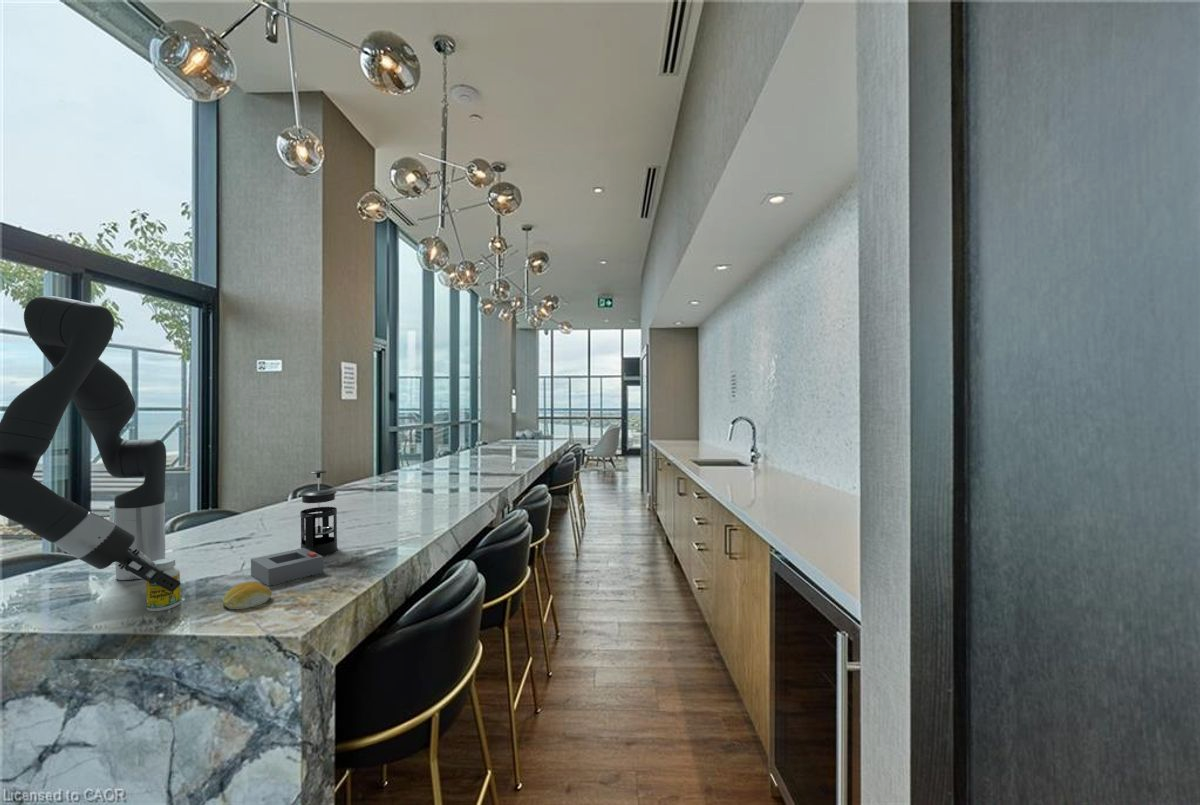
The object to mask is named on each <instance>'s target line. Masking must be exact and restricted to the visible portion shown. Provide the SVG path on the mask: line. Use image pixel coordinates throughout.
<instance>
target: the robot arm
mask: <svg viewBox="0 0 1200 805" xmlns="http://www.w3.org/2000/svg"><path fill="white" fill-rule="evenodd" d="M23 321H24V325H25V329H26V331H27V333H28V334H29V337H30V338H31V339H32V341H33V342H34V344H35V345H36V346H37V348H38V349H39V350H40V351H41V353H42V354H43V355H44V356H45V358H46V359H47V361H48V362H49V363H50V364H51V365H52V367H53V369H52V370H50V371H49V372H48V373H46V375H44V376H43V377H41V378H40V379H38V380H37V381H35V383H33V384H31V385H30V386H29V387H27V388H26V389H24V390H23V391H22V392H21V393H19V394H18V395H17V396H16V397H14V399H13V400H12V401H11V402H10V403H9V405H8V406H7V407H6V410H5V411H4V413H3V416H2V418H1V419H0V515H1V516H2V517H4V518H7V519H9V520H10V521H13V522H15V523H17V524H19V525H21V526H23V527H24V528H26V529H27V530H28V531H30V532H31V533H33V534H34V535H36V536H39V537H40V538H43V539H44V540H46V541H48V542H50V543H52V544H53V545H55V546H56V547H58V548H59V549H60V550H61V551H63V552H65V553H67V554H69V555H71V556H73V557H75V558H76V559H79V560H80V561H83V562H84V563H85V564H88V565H90V566H92V567H94V568H96V569H97V570H104V569H106V568H108V567H110V566H112V564H113V563H115V564H114V565H115V568H114V569H115V579H116V580H117V579H118V580H117V581H132V580H133V579H134V580H139V579H140V580H145V581H148V582H149V583H150V584H155V583H156V584H157V585H159V586H161V587H163V588H165V589H167V590H168V591H170V592H173V591H174V590H175V589H176V588H177V587H178V586H179V585H180V586H181V580H180V581H178V580H176V579H175V578H173V577H171V576H169V575H167V574H166V573H165V571H163V570H160V569H158V568H157V564H156V563H154V562H153V561H156V560H160V559H166V518H165V517H166V514H165V513H166V510H165V509H166V508H165V504H166V502H165V501H166V499H165V497H166V496H165V492H166V470H167V469H166V468H167V450H166V449H167V448H166V445H165V443H164V442H163V441H162V440H161V439H158V438H154V439H153V438H151V439H148V438H147V439H124V438H122V437H121V435H120V433H122V431H123V429H124V428H125V427H126V426H127V424H128V423H129V422H130V421H131V419H132V417H133V416H134V413H135V412H136V406H137V405H136V401H135V399H134V397H133V394H132V391H131V390H130V388H129V385H128V383H127V382H126V380H125V379H124V378H123V377H122V376H121V375H120V374H119V373H117V372H116V371H115V370H114V369H113V368H111V367H110V366H109V365H108V364H106V363H105V362H104V361H103V360H101V359H100V358H101V356H102V355H103V353H104V351H105V350H106V348H107V347H108V346H109V343H110V341H111V339H112V337H113V334H114V332H115V319H114V316H113V314H112V313H111V311H110V310H109V309H108V308H107V307H105V306H102V305H100V304H96V303H92V302H91V303H90V302H86V301H82V300H81V301H80V300H77V299H71V298H66V297H60V296H53V295H41V296H36V297H34V298H32V299H31V300H29V301H28V303H27V304H26V306H25V307H24V311H23ZM71 400H72V402H73V403H74V406H75V407H76V409H77V411H78V414H80V416H81V418H82V419H83V421H84V423H85V425H86V426H87V428H88V430H89V431H90V434H91V435H92V437H93V439H94V442H95V444H96V447H97V450H98V452H99V455H100V458H101V460H102V463H103V465H104V468H105V470H106V471H107V473H108V474H109V475H110V476H111V477H114V478H118V479H127V478H132V479H133V478H144V481H143V483H142V484H141V485H139V486H138V487H136V488H134V489H133V488H132V489H130V490H127V491H124V492H121V493H119V494H117V495H115V497H114V502H113V504H114V523H113V522H111V521H110V520H108V519H107V518H104V517H103V516H100V515H99V514H95V513H94V512H92V511H90V510H88V509H86V508H85V507H83V506H81V505H79V504H77V503H75V501H72V500H70V499H68V498H67V497H66V498H65V497H64V496H62V495H59V494H58V493H56V492H55V491H53V490H52V489H50V488H49V487H48V486H46V485H45V484H43V483H41V481H38V480H37V479H36V478H34V477H33V476H34V474H35V471H36V468H37V466H38V464H39V461H40V459H41V457H42V456H43V455H44V454H45V453H46V452H47V450H48V449H49V447H50V445H51V443H52V441H53V439H54V436H55V434H56V431H57V429H58V426H59V425H60V422H61V421H62V420H61V419H62V417H63V416H64V414H65V413H66V412H65V411H66V410H67V408H68V405H69V404H70V402H71ZM152 570H153V571H155V572H156V573H155V574H154V575H153V576H152V577H151V578H150V577H148V574H149V573H150V572H152Z"/></svg>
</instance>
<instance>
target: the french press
mask: <svg viewBox="0 0 1200 805" xmlns="http://www.w3.org/2000/svg"><path fill="white" fill-rule="evenodd" d="M327 472H328V471H327V470H321V469H320V470H312V471H310V472H309V474H313V475H314V474H316V478H317V490H311V491H304V492H301V493H300V494H299V495H300V497H301V502H302V503H304V504H317V507H311V508H305V509H302V510H300V514H299V515H300V548H305V549H308V550H310V551H312V552H315V553H317V554H319V555H321V556H323V557H328V556H331V555H334V554H335V553H337V552H338V551H339V548H338V531H337V530H338V526H337V525H338V520H337V519H338V516H337V513H338V508H337V507H336V506H335V507H334V506H320V504H321V503H328V502H331V501H335V500H336V494H337V492H338V491H337V490H335V489H320V478H321V474H324V473H325V474H326V473H327ZM332 516H333V526H330V522H329V521H330V517H332ZM320 518H321V519H322V522H320V521H321V519H320ZM316 519H317V520H318V522H317V525H316ZM321 523H322V524H321ZM332 533H333V536H330V534H332ZM317 536H318V537H317ZM327 555H328V556H327Z"/></svg>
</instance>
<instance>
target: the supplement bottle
mask: <svg viewBox="0 0 1200 805" xmlns="http://www.w3.org/2000/svg"><path fill="white" fill-rule="evenodd" d="M153 562H154V563H156V564H157V568H158V569H160V570H163V571H165V573H166V574H167V575H169V576H171V577H173V578H175V579H176V580H178V581H180V582H181V573H180V572H181V571H180V569H179V568H177V567H175V566H176V559H175V558H173V557H168V558H165V559H160V560H156V561H153ZM155 573H156V572H155V571H153V570H152V572H150V573H149V574H148V577H150V578H151V577H152V576H153V575H154V574H155ZM145 581H146V580H145ZM145 585H146V586H145V587H146V588H145V589H146V590H145V591H146V610H148V611H149V612H163V611H166V610H170V609H173V608H176V607H177V606H179V605H180V604H181V584H180V585H179V586H178V587H177V588H176V589H175V590H174V591H173V592H170V591H168V590H167V589H165V588H163V587H161V586H159V585H157V584H156V583H155V584H150V583H149V582H148V581H146V582H145Z"/></svg>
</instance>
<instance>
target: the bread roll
mask: <svg viewBox="0 0 1200 805" xmlns="http://www.w3.org/2000/svg"><path fill="white" fill-rule="evenodd" d="M271 597H272V591H271V589H270V588H269V587H268V586H265V585H264V584H262V583H260V582H258V581H249V582H248V581H247V582H242V583H239V584H236V585H235V586H234V587H231V589H229V590H228V591H227V592H226V593H225V595H223V598H222V605H223V607H226V608H228V609H229V610H234V609H236V610H247V609H249V608H253V607H258V606H260V605H263V603H264V604H266V603H267V602H268V601H269V599H271Z"/></svg>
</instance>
